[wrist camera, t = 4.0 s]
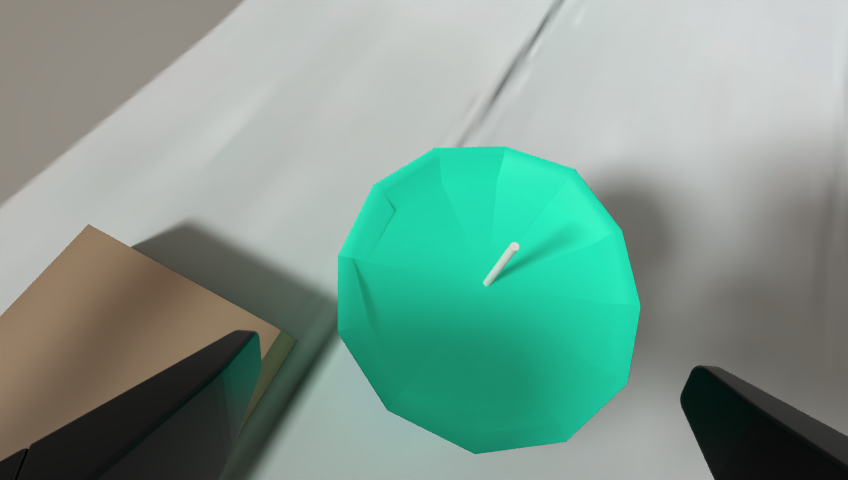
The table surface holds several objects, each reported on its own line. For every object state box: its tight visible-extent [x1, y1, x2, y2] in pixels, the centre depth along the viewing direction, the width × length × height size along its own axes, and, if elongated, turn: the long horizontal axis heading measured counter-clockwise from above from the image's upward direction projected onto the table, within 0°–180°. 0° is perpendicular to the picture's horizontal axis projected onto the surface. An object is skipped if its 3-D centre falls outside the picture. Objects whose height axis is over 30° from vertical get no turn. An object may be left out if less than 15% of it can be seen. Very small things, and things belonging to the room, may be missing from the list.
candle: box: [337, 147, 641, 454], centre depth 12 cm, size 6×6×12 cm
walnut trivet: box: [0, 224, 297, 461], centre depth 14 cm, size 9×9×2 cm
